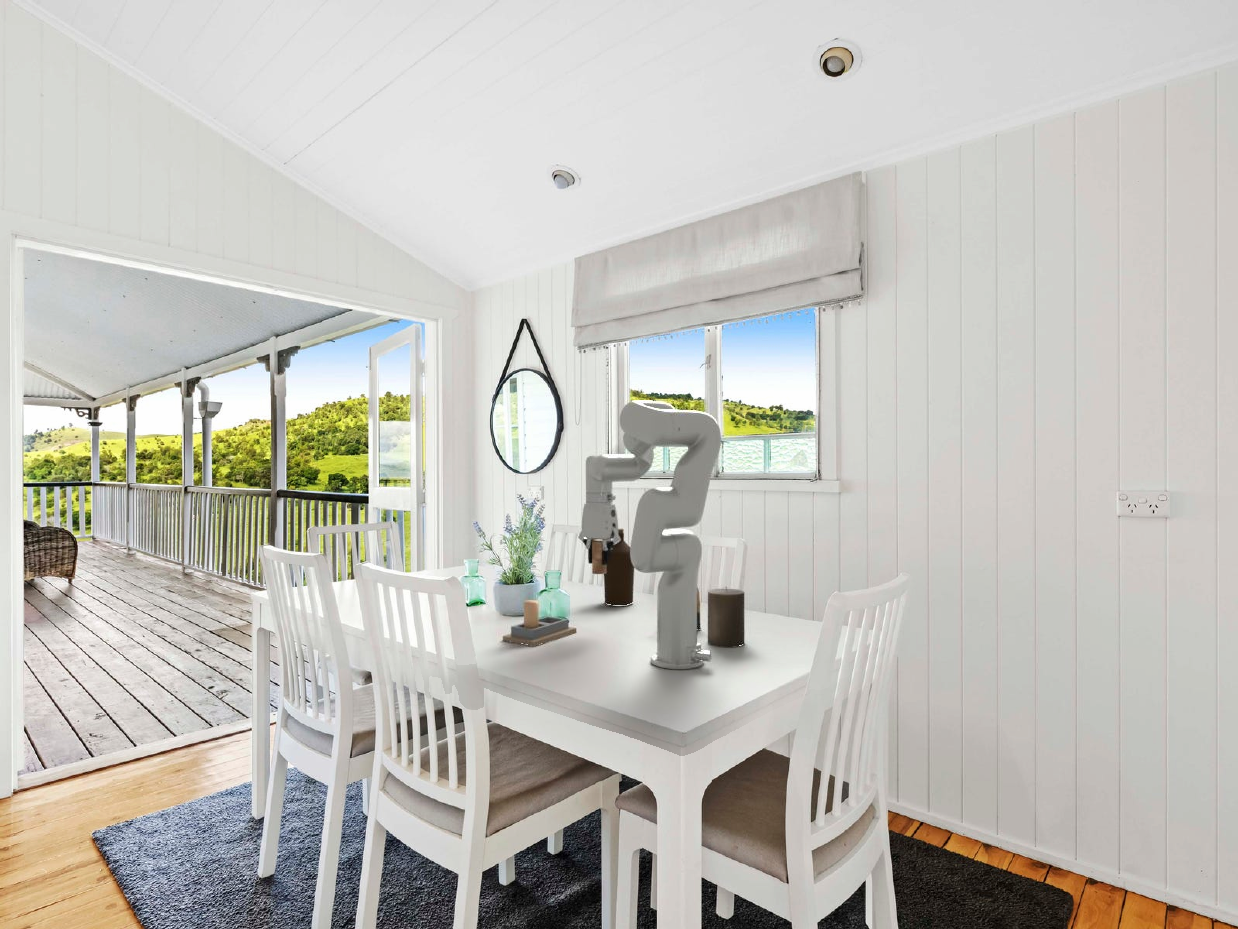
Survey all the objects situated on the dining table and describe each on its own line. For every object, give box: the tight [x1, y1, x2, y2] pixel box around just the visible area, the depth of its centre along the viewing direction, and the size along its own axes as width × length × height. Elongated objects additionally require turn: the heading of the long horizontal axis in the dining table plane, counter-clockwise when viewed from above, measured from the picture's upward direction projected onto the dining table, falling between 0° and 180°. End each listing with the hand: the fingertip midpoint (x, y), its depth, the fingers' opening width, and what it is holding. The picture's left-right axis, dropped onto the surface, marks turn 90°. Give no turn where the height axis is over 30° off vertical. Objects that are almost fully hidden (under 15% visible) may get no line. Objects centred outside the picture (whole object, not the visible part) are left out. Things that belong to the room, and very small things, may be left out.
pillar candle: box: [707, 586, 746, 648], centre depth 188 cm, size 10×10×15 cm
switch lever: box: [591, 540, 606, 575], centre depth 202 cm, size 4×4×9 cm
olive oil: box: [603, 528, 635, 605], centre depth 238 cm, size 11×11×25 cm
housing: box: [502, 599, 577, 647], centre depth 195 cm, size 11×18×10 cm, turn 146°
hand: (599, 563), depth 202 cm, fingers closed on switch lever, 4 cm apart
